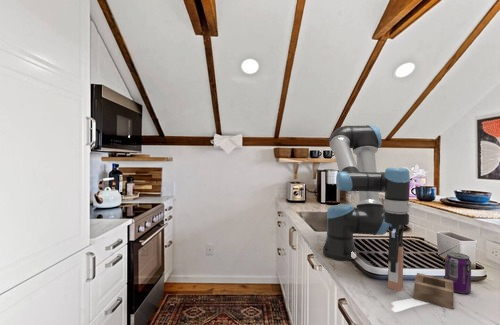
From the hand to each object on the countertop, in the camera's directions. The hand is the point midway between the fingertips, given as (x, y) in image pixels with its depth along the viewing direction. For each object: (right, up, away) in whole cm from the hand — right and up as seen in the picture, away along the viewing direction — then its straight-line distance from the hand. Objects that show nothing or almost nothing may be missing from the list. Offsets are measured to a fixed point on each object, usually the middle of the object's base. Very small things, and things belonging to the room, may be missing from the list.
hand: (395, 276), depth 92 cm
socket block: (+9, -4, -7) cm, 12 cm away
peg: (0, -4, 0) cm, 4 cm away
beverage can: (+21, -4, -1) cm, 21 cm away
